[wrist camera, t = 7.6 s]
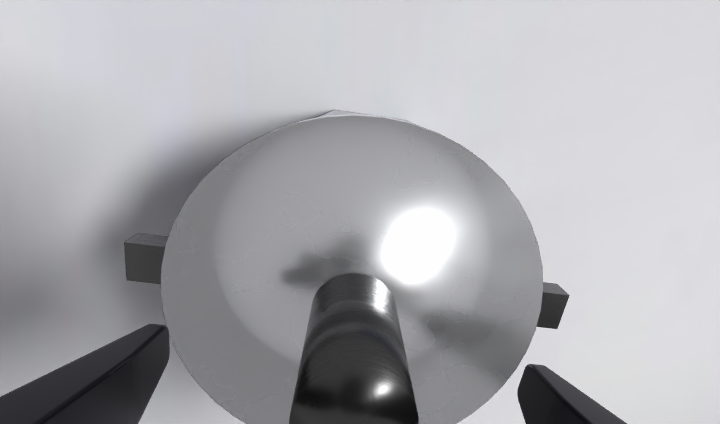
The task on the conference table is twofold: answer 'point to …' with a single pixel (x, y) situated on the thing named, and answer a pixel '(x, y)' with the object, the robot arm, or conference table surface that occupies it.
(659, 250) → the conference table surface
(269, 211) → the lid
